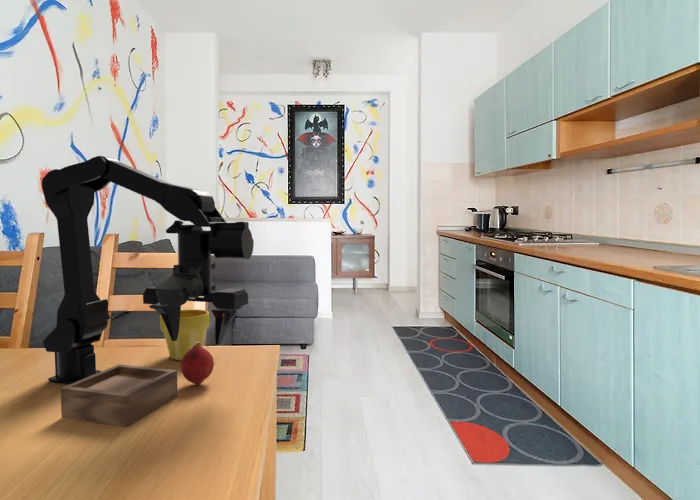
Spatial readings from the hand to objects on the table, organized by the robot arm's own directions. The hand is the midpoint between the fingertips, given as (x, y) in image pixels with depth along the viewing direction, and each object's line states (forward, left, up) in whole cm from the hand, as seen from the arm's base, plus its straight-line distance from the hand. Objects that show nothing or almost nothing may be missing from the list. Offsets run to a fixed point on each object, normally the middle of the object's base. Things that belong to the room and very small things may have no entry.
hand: (196, 342), depth 84 cm
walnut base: (-6, -12, -8) cm, 16 cm away
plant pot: (-13, +15, -8) cm, 21 cm away
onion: (0, 0, -8) cm, 8 cm away
